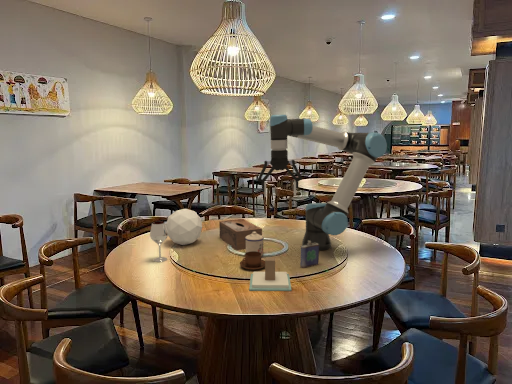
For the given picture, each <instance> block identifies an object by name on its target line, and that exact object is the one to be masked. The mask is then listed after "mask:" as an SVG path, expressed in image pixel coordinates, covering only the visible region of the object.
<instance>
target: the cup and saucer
mask: <svg viewBox="0 0 512 384" xmlns="http://www.w3.org/2000/svg"><path fill="white" fill-rule="evenodd" d="M239 265H240V267H241V268H243V269H245V270H253V271H254V270H260V269H263V268H265V259H262V256H261V253H260V252H256V251H251V252H247V253H246V252H245V253H244V257H243V259H241V261H239Z"/></svg>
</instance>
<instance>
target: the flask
mask: <svg viewBox="0 0 512 384" xmlns="http://www.w3.org/2000/svg"><path fill="white" fill-rule="evenodd" d="M307 242H308V243H307V244H308V245H304V246H302V245H301V246H300V263H299V265H300V268H302V269H305V268H310V267H312V266H313V267H314V266H317V265H319V260H320V259H319V256H320V250H319V244H318V243H311V241H310V240H308V241H307Z"/></svg>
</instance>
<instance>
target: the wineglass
mask: <svg viewBox="0 0 512 384" xmlns="http://www.w3.org/2000/svg"><path fill="white" fill-rule="evenodd" d="M149 237H150V239H151V240H152V241H153V242H154V243H156V244H157V245H158V256H157V257H155V258H153V260H152V261H153V262H155V263H163V262H166V261H167V260H168V257H165V256H162V253H161V252H162V250H161V245H162V244H163V242H165V241H166V240H167V239H168V237H169V236H168V231H167V228H166V222H165V221H153V222H152V223H151V227H150V232H149Z"/></svg>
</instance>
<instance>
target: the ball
mask: <svg viewBox="0 0 512 384" xmlns="http://www.w3.org/2000/svg"><path fill="white" fill-rule="evenodd" d="M165 225H166V228H167V231H168V236H167V237H169V239H170V240H171V241H172V242H173V243H175V244H178V245H180V246H186V245H190V244H193V243H194V242H196V241H197V240H198V239H199V238H200V237H201V233H202V229H203V223H202V219H201V217H200V216H199V214H197V212H196V211H194V210H191V209H188V208H183V209H179V210H178V209H177V210H175V211H174V212H173V213H171V214H170V215H169V216H168V217H167V220H166V222H165Z"/></svg>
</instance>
